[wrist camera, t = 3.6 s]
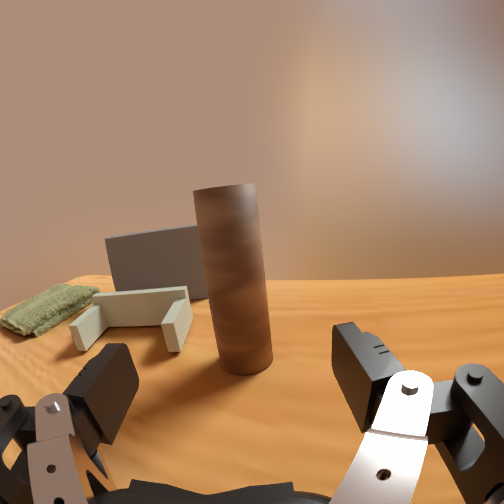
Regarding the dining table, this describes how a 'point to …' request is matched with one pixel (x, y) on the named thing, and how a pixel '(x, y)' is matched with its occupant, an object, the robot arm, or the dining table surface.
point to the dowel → (235, 276)
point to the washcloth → (48, 309)
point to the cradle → (136, 315)
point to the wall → (158, 260)
